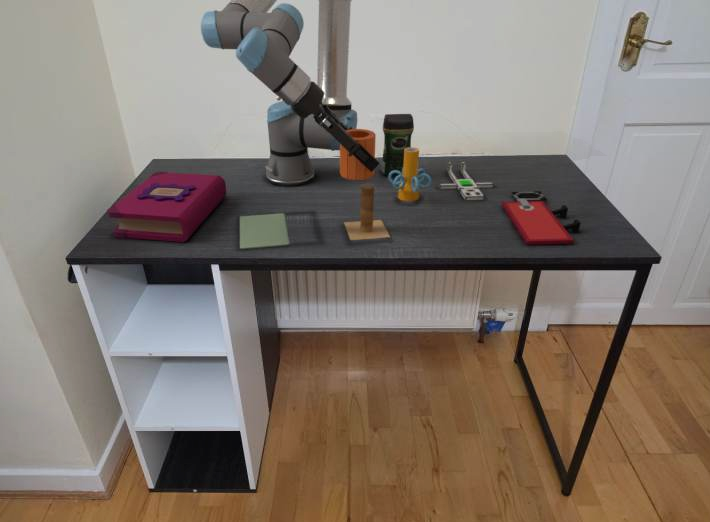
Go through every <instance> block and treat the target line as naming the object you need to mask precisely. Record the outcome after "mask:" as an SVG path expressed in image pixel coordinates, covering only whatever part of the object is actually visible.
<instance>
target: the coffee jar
mask: <svg viewBox="0 0 710 522" xmlns="http://www.w3.org/2000/svg"><path fill="white" fill-rule="evenodd" d="M414 130H415V125H414V117H413V114H412V113H388V114H387V113H386V114H384V117H383V123H382V132H383V135H384V139H383V140H384V141H383V150H382V159H381V168H380V169H381V170H380V171H381V173H382V174H383V175H385V176H387V177H389V174H390V172H391V171H394V170H397V171H400V172H401V173H402V168H403V164H404V149H405V148H408V147H412V135H413V134H414V133H413V132H414ZM398 175H399V174H398V173H393V174H392V176H391V177H397V176H398Z"/></svg>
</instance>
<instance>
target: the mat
mask: <svg viewBox="0 0 710 522" xmlns="http://www.w3.org/2000/svg"><path fill="white" fill-rule="evenodd" d="M289 239H290V238H289V234H288V227H287V221H286V216H285V213H284V212H281V213H269V214H256V215H255V214H254V215H253V214H252V215H241V216H239V250H251V249H264V248H265V249H266V248H276V247H287V246H288V247H289V246H290V240H289Z"/></svg>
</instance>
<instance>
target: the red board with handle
mask: <svg viewBox="0 0 710 522" xmlns="http://www.w3.org/2000/svg"><path fill="white" fill-rule="evenodd" d="M511 194H512V196H513V197H514V198H515V200H516V201H502V202H501V206H502V208H503V210H504V211H505V212H506V214H507V216H508V217H509V219H510V220H511V222H512V224H513V225H514V227H515V228H516V230H517V232H518V234H519V235H520V237H521V238H522V240H523V241H524V243H525V244H526V246H527V245H529V246H531V245H567V244H568V245H570V244H574V241H575V240H574V239H573V236H571V234H569V232H568V231H567V230H571V231H572V232H573V233H574V234H579V231H580V227H581V224H582V223H581V221H580V220H579V219H573V221H572V223H567V224H563V225H562V223H561V222H560V221H559V219H558V218H557V217H556V215H559V216H560V217H561V218H562V219H566V218H567V214H568V210H569V208H568V206H567V205H565V204H563V205H561V208H557V209H553V210H551V209H550V208H549V207H548V206H547V204H546V203H545V202H548V200H549V199H547V197H546V196H545V195H544V194H543V192H542V191H540V190H538V191H537V190H535V191H511Z"/></svg>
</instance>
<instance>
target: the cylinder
mask: <svg viewBox="0 0 710 522" xmlns="http://www.w3.org/2000/svg"><path fill="white" fill-rule="evenodd" d="M419 157H420V149H419V148H418V147H412V146H411V147H408V148H405V149H404V164H403V168H402V173H401V172H400V171H397V170H394V171H391V172H390V174H389V176H388V181H389V183H391V184H392V187H393V189H394V190H396V191H397V198H398V199H399V200H401V201H403V202H414V201H417V200H419V198H420V191H421V190H420V189H426V188H429V187H430V186H431V184H432V178H431V176H430V175H429V174H427V173H426V170H425V169H424V168H419ZM420 172H421V173H420ZM393 173H398V174H399V175H398V176H395V178H394V179H393V178H392V177H393V176H392V174H393ZM419 173H420V174H419ZM425 178H427V180H428V182H427V183H426V184H425V185H424V184H421V183H422V182H423V181H424V179H425ZM397 185H398V186H397Z"/></svg>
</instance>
